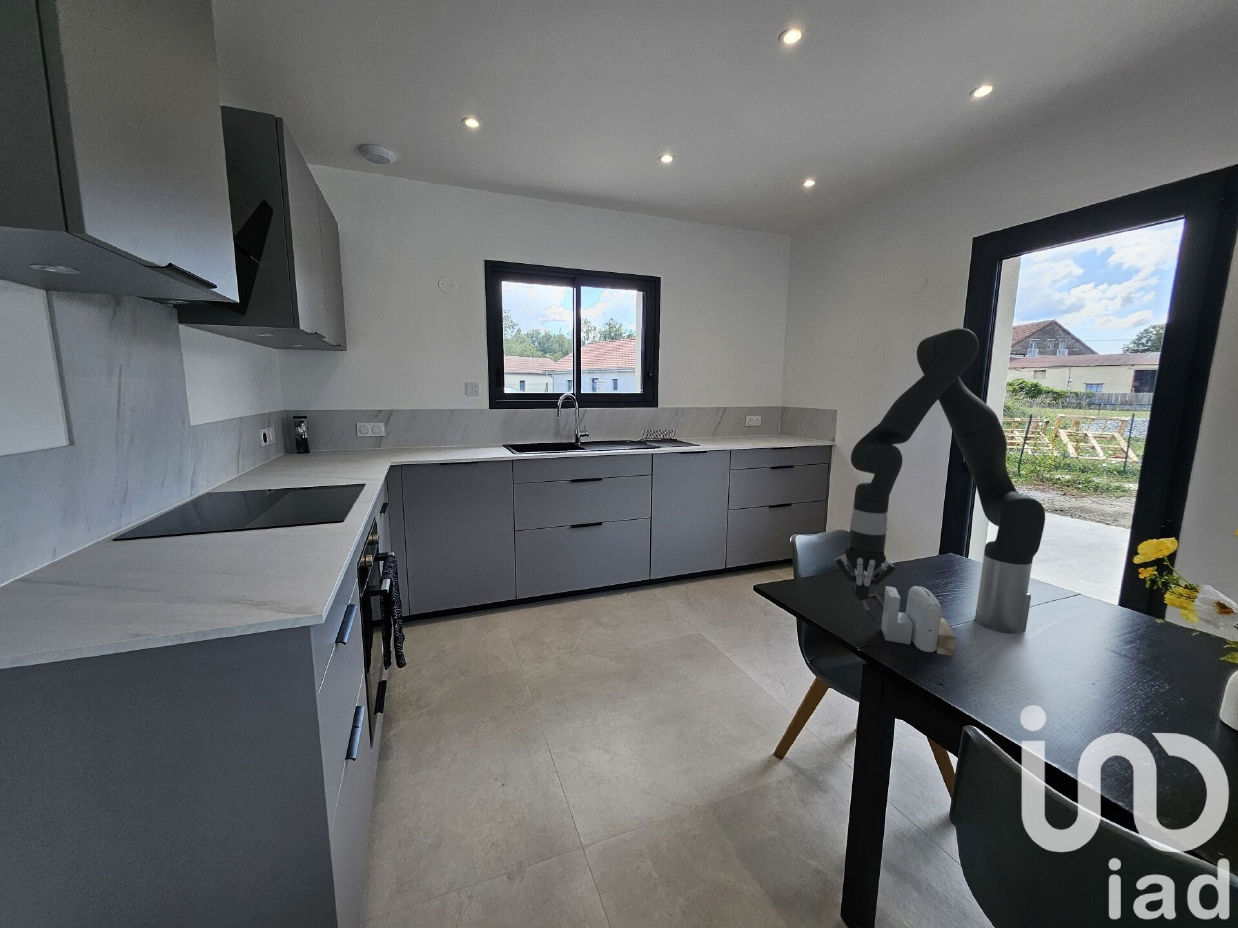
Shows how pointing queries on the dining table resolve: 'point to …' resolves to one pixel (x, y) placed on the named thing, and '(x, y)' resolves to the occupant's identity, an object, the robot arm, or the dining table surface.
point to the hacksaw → (873, 596)
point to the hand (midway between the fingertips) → (860, 598)
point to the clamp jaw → (895, 619)
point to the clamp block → (945, 639)
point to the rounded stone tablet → (924, 618)
